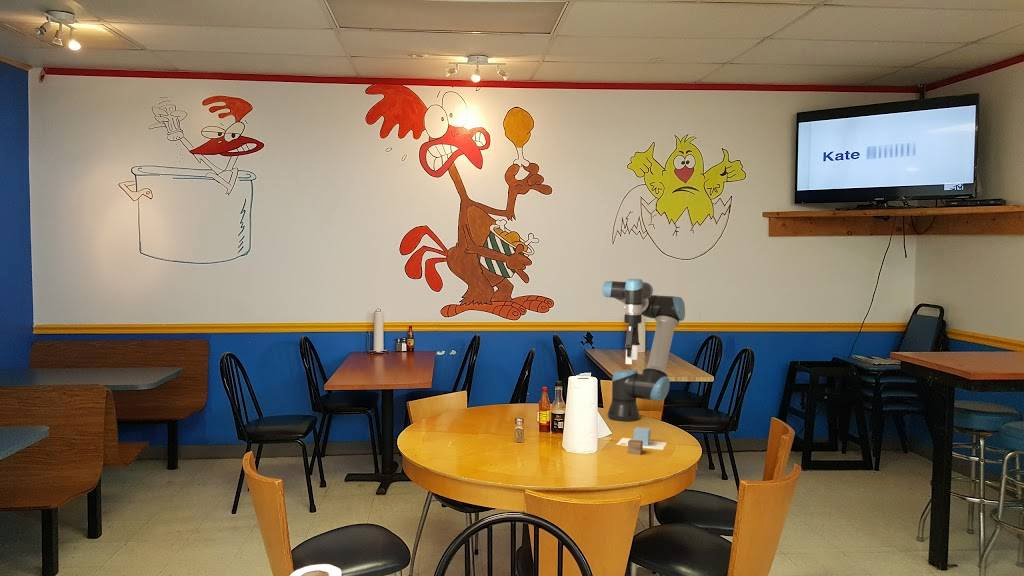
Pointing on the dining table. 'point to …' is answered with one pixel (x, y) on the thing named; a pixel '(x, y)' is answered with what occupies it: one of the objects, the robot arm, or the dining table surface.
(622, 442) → the letter mat
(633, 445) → the walnut block
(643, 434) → the blue cube
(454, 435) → the dining table surface
